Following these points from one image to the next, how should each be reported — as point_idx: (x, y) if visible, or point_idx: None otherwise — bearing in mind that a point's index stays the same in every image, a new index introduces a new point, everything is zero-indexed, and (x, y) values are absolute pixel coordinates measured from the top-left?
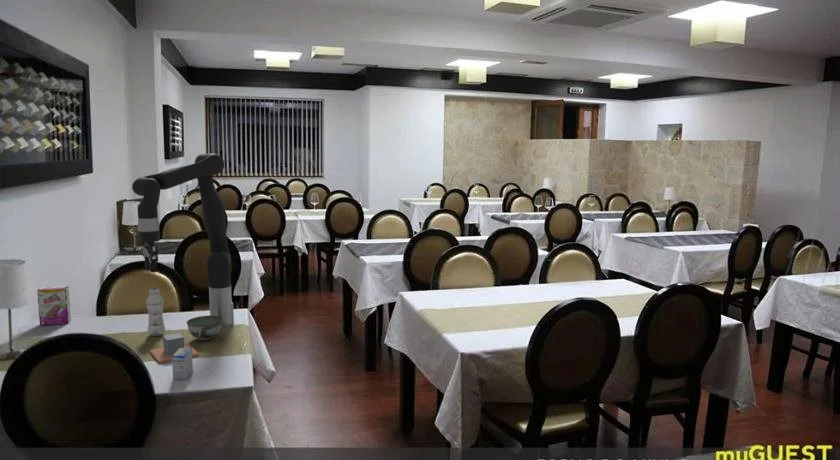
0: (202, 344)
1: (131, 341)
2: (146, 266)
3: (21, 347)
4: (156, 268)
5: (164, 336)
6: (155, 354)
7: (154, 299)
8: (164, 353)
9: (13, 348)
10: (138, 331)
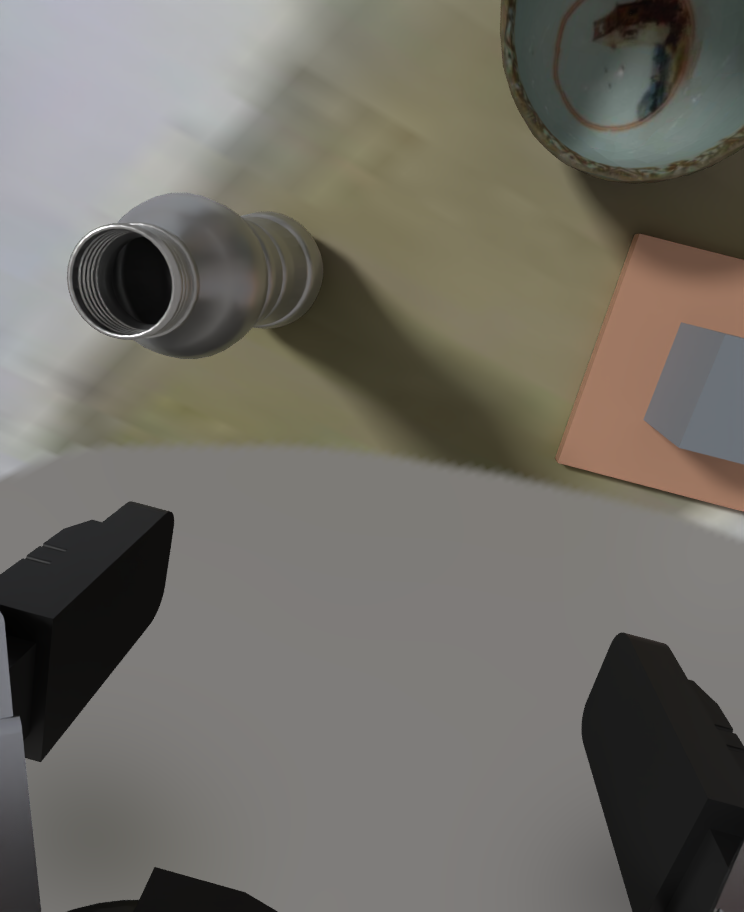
0: None
1: (278, 431)
2: (141, 619)
3: None
4: (683, 686)
5: (700, 447)
6: (655, 479)
7: (233, 313)
8: None
9: None
10: None
